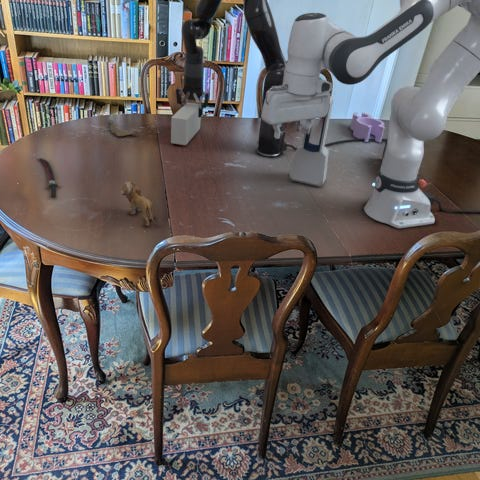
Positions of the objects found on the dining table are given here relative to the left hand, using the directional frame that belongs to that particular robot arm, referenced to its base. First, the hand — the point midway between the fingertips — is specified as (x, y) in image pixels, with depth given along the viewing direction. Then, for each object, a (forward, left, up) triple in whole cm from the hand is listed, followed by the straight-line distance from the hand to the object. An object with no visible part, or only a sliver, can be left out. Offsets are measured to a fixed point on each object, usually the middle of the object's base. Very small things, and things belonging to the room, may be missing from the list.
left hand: (192, 115), depth 194 cm
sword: (+64, +21, -7) cm, 68 cm away
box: (+5, +5, -6) cm, 10 cm away
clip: (-75, +30, -7) cm, 81 cm away
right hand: (+12, +77, +20) cm, 80 cm away
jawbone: (+25, -12, -7) cm, 29 cm away
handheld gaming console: (-53, +64, -7) cm, 83 cm away
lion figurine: (+48, +56, -7) cm, 74 cm away
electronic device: (-15, +58, -7) cm, 60 cm away
